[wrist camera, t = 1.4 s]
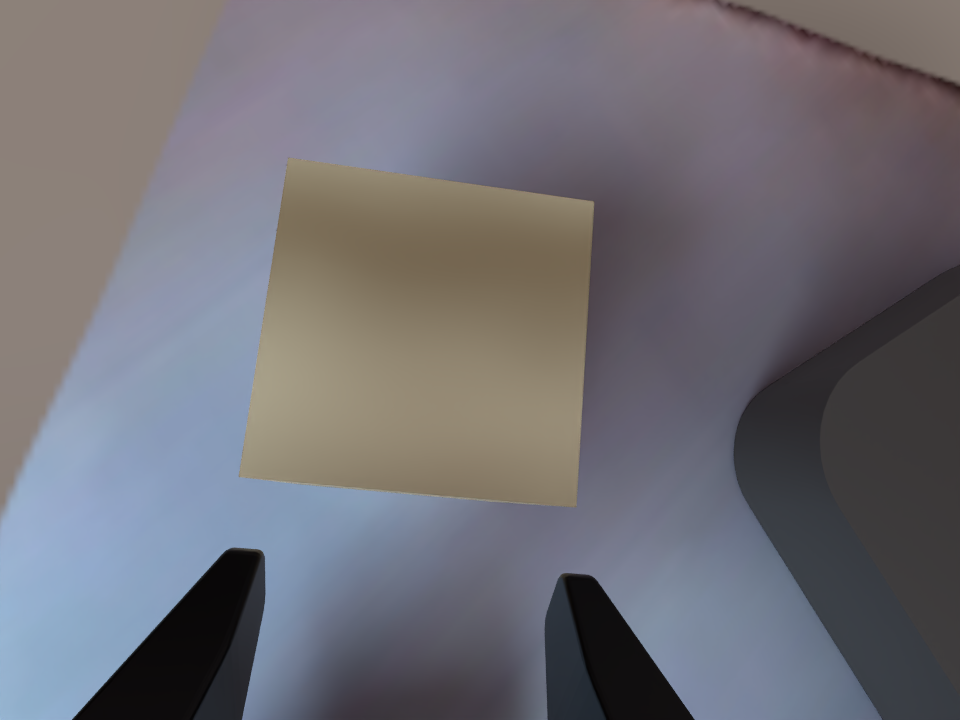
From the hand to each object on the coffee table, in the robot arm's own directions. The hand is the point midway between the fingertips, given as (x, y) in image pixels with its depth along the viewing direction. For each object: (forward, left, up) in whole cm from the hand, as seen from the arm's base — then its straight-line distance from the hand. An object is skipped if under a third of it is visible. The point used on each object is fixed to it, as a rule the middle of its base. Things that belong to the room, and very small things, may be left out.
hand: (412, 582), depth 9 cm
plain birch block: (+4, 0, -14) cm, 14 cm away
